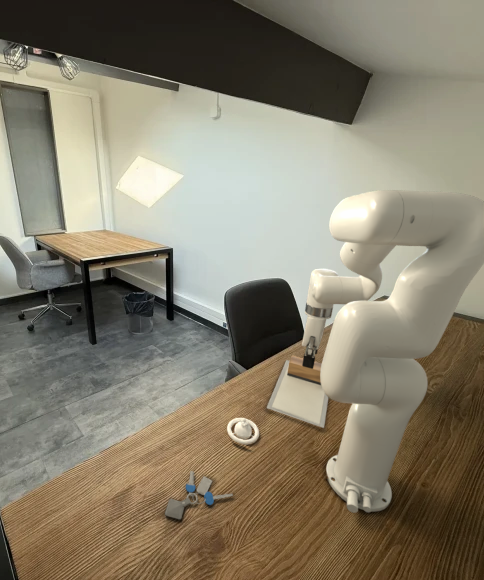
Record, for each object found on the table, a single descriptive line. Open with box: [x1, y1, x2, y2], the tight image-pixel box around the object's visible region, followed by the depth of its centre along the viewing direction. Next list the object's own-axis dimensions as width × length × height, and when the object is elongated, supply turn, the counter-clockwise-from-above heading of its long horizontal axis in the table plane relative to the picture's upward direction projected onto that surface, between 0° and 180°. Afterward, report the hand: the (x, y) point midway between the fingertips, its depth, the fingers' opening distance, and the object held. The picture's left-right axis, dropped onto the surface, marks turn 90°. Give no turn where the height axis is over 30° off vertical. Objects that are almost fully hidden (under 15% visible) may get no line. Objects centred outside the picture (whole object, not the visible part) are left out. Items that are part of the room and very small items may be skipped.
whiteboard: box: [266, 359, 329, 429], centre depth 94 cm, size 28×15×1 cm, turn 153°
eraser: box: [287, 354, 322, 385], centre depth 99 cm, size 5×11×5 cm, turn 63°
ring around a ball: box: [226, 417, 260, 446], centre depth 76 cm, size 8×6×8 cm
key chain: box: [164, 470, 234, 520], centre depth 62 cm, size 14×8×1 cm, turn 114°
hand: (309, 359), depth 97 cm, fingers open, 9 cm apart
